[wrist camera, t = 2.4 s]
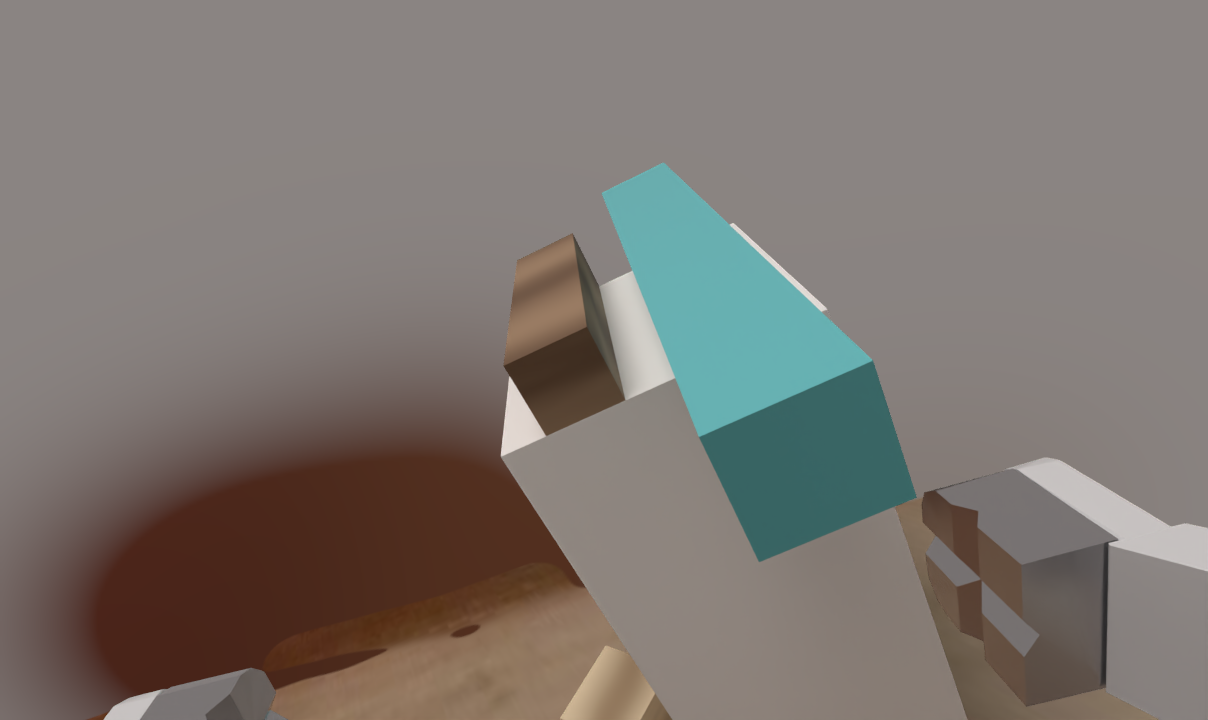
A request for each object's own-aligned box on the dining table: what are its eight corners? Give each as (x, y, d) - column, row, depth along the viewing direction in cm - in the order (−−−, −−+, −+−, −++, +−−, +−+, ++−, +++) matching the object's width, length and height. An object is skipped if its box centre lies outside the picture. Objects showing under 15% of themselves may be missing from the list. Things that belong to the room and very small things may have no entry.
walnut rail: (625, 400, 23) (586, 326, 21) (546, 436, 23) (503, 365, 22) (599, 286, 33) (572, 233, 32) (545, 311, 34) (517, 260, 32)
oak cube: (596, 766, 41) (560, 718, 39) (637, 693, 44) (605, 645, 42) (661, 799, 38) (624, 749, 36) (700, 718, 41) (669, 667, 39)
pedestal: (980, 758, 32) (827, 309, 22) (751, 841, 34) (500, 456, 23) (871, 580, 43) (733, 222, 33) (701, 648, 45) (514, 326, 34)
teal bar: (916, 497, 14) (872, 360, 12) (759, 562, 14) (699, 437, 13) (689, 223, 35) (663, 162, 34) (629, 252, 36) (601, 193, 34)
